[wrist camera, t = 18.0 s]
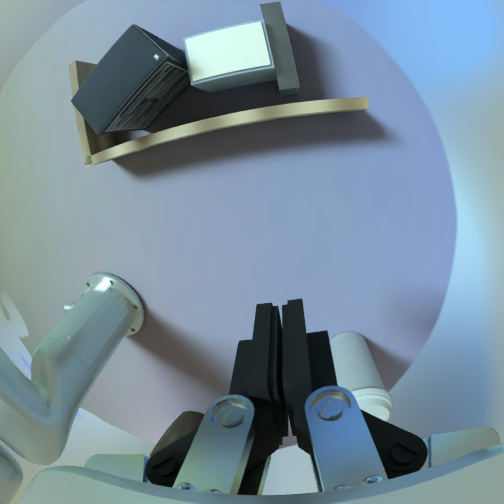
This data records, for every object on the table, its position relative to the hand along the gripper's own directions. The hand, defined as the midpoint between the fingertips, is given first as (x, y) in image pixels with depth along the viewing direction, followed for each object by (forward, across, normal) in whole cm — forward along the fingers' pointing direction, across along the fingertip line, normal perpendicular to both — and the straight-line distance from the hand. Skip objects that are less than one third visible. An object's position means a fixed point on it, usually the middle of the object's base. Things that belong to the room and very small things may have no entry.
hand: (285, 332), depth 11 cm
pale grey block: (+26, +2, -16) cm, 31 cm away
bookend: (+26, -3, -16) cm, 31 cm away
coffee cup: (+26, -7, +26) cm, 38 cm away
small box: (+26, +12, -17) cm, 34 cm away
